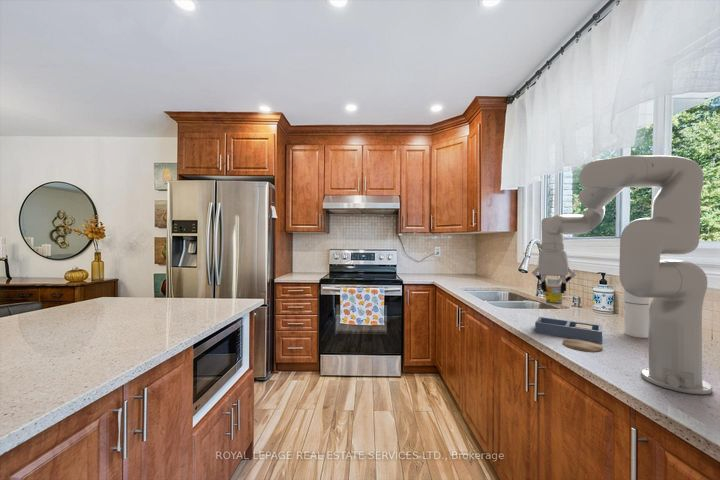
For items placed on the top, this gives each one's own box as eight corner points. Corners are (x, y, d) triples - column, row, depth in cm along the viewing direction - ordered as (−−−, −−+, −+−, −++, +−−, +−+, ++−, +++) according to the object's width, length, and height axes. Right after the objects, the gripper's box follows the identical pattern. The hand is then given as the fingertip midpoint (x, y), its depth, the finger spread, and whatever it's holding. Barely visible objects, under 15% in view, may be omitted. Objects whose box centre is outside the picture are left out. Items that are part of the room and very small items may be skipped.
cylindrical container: (631, 337, 114) (631, 271, 114) (620, 331, 121) (619, 269, 121) (654, 338, 112) (653, 272, 113) (641, 332, 119) (640, 270, 120)
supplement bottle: (545, 302, 125) (544, 278, 125) (561, 303, 122) (560, 278, 122) (546, 304, 120) (545, 279, 120) (563, 306, 117) (562, 280, 118)
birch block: (591, 339, 112) (591, 329, 112) (575, 337, 115) (575, 326, 115) (592, 336, 115) (592, 326, 115) (576, 333, 119) (576, 323, 119)
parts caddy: (602, 343, 107) (602, 331, 107) (535, 332, 121) (535, 322, 121) (602, 335, 116) (602, 325, 116) (539, 326, 129) (539, 316, 129)
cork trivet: (602, 354, 97) (602, 352, 97) (561, 346, 103) (561, 345, 104) (602, 345, 105) (602, 343, 105) (564, 338, 112) (564, 337, 112)
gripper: (527, 247, 124) (527, 291, 124) (578, 247, 113) (579, 295, 113) (530, 247, 130) (531, 289, 129) (579, 247, 119) (580, 293, 119)
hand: (553, 291), depth 121 cm, fingers closed on supplement bottle, 5 cm apart
